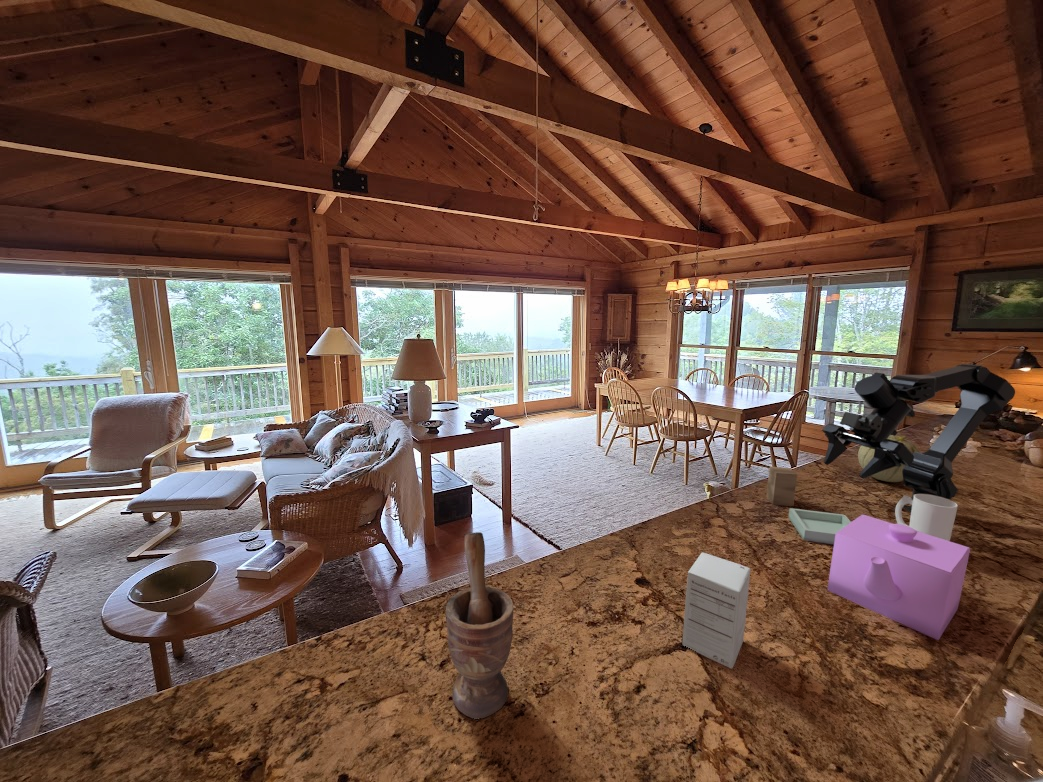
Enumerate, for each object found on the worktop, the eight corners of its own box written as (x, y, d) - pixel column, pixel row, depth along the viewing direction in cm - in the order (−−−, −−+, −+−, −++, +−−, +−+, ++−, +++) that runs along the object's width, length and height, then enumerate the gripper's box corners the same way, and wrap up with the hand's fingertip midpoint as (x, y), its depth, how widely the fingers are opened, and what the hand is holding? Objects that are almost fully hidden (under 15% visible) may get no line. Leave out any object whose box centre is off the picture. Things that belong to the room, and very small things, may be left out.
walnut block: (766, 496, 120) (769, 466, 119) (785, 498, 119) (789, 468, 118) (772, 504, 116) (776, 472, 114) (793, 506, 115) (797, 474, 113)
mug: (955, 558, 90) (966, 505, 88) (934, 563, 88) (944, 509, 86) (901, 535, 100) (909, 486, 98) (881, 539, 98) (889, 489, 96)
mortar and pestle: (430, 668, 61) (426, 539, 58) (484, 644, 66) (483, 523, 62) (464, 735, 51) (461, 584, 48) (525, 701, 56) (526, 562, 52)
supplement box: (695, 620, 71) (701, 550, 69) (744, 641, 67) (752, 567, 64) (680, 645, 66) (686, 570, 63) (732, 671, 61) (740, 591, 59)
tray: (788, 517, 108) (789, 508, 108) (843, 524, 105) (844, 514, 104) (803, 540, 97) (805, 530, 97) (865, 548, 94) (867, 538, 93)
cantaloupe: (854, 468, 144) (860, 425, 141) (912, 478, 135) (920, 432, 132) (856, 482, 132) (863, 435, 129) (920, 493, 123) (929, 443, 121)
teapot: (810, 605, 75) (820, 531, 73) (862, 560, 89) (872, 497, 87) (925, 661, 63) (942, 575, 61) (964, 599, 77) (979, 527, 75)
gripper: (829, 392, 109) (791, 440, 109) (908, 408, 91) (861, 464, 91) (853, 418, 112) (816, 464, 112) (934, 438, 94) (889, 492, 94)
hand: (842, 470), depth 103 cm, fingers open, 9 cm apart
